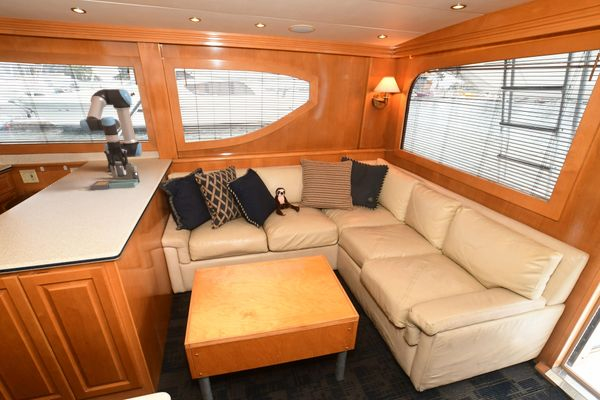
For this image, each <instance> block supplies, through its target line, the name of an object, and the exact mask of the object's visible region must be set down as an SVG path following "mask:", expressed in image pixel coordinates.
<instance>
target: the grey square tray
mask: <svg viewBox="0 0 600 400" xmlns="http://www.w3.org/2000/svg"><path fill="white" fill-rule="evenodd" d="M106 181H109V182H108V183H107V184H103V185H95V184H96V183H98V182H106ZM112 181H114V179H111V180H96V181H95V182H94V183H92V184H91V185H90V188H91V191H103V190H106V191H107V190H110V188H109V185H108V184H111V183H112Z"/></svg>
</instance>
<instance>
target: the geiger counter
mask: <svg viewBox="0 0 600 400" xmlns="http://www.w3.org/2000/svg"><path fill="white" fill-rule="evenodd" d="M115 164H116V165H118V164H122V163H121V162H116V161H115ZM110 168H111V172H110V174H109V173H108V172H107V171H108V170H109V169H107V168H106V171H105V173H106V174H107V175H108V176H112V180H126V179H128V180H133V177H132V173H131V172H133V171H137V172H138V167H137V164H136V165H135V163H134V162H132V161H128V164H127V165H126V170H125V171H126V174H125V176H123V177H118V175H116V172H115V170H113V166H112V165H110ZM138 173H139V172H138Z"/></svg>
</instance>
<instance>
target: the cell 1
mask: <svg viewBox="0 0 600 400" xmlns="http://www.w3.org/2000/svg"><path fill="white" fill-rule="evenodd" d="M116 169H117V173H118V177H123V176H125V175H124V174H123V170H122V164H118V165H116Z"/></svg>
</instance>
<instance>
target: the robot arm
mask: <svg viewBox="0 0 600 400" xmlns="http://www.w3.org/2000/svg"><path fill="white" fill-rule="evenodd" d="M90 103H91V104H90V106H89V110H88V112H87V116H86V118H85V119H81V120H80V121H79V126H80V128H81V130H82V131H84V132H99V131H100V132H101V131H103V133H104V137H105V141H106V144H104V151H103V153H104V154H105V156H106V159H107V168H106V170H107V169H109V170H107V171H108V172H109V173H112V172H111V168H110V165H112V166H113V170H115V172H116V175H118V173H117V169H116V164H115V161H116V162H121V163H122V170H123V174H124V175H125V174H126V171H125V170H126V165H127V164H128V162H129V160H128V158H136V157H141V156H142V153H143V147H142V146H143V144H142V142H140V141H139V140H138V139H137V138H136V134H135V130H134V126H133V121H132V116H131V112H130V109H131V106H132V105H133V101H132V97H131V95H130V93H129V91H128V90H127V89H122V88H108V89H107V88H103V89H100V90H97V91H96V92H95V93H93V94H92V96H91V98H90ZM106 106H113V109H115V110H116V114H117V116H118V117H117V118H118V119H117V118H114V117H113V116H107V117H106V116H104V117H102V114H103V111H104V108H105V107H106ZM119 129H120V130H121V133H122V137H123V140H122V143H121V141H120V137H119V133H118V132H119V131H118V130H119ZM108 172H107V173H108Z"/></svg>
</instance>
